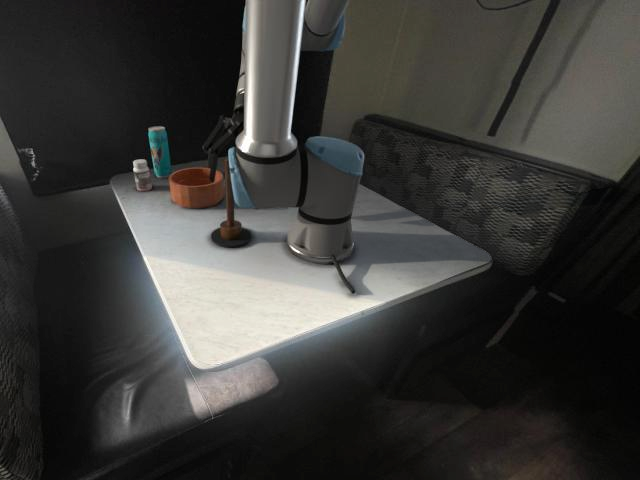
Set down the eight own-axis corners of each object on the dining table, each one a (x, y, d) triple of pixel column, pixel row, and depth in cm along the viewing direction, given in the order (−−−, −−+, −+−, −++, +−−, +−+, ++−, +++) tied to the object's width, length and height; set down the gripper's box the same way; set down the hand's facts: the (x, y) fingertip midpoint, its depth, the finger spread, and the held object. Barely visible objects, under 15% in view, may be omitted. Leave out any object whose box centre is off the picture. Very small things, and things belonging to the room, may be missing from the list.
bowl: (222, 209, 94) (221, 187, 90) (167, 209, 95) (164, 186, 91) (225, 188, 106) (224, 167, 102) (176, 188, 107) (173, 167, 102)
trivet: (251, 248, 79) (251, 246, 78) (209, 247, 79) (209, 245, 78) (251, 227, 86) (251, 225, 86) (212, 227, 86) (212, 225, 86)
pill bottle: (136, 186, 108) (130, 159, 102) (150, 184, 109) (146, 157, 103) (138, 191, 104) (132, 164, 99) (153, 189, 106) (148, 162, 100)
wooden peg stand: (241, 240, 80) (240, 162, 69) (220, 240, 80) (215, 162, 69) (241, 229, 84) (241, 155, 73) (221, 229, 84) (217, 155, 73)
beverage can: (152, 177, 113) (144, 129, 104) (160, 172, 118) (152, 125, 108) (167, 179, 112) (160, 131, 102) (174, 173, 116) (168, 126, 107)
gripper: (300, 112, 85) (288, 192, 84) (206, 108, 89) (194, 184, 88) (301, 91, 78) (288, 179, 76) (198, 88, 82) (185, 171, 80)
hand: (238, 182), depth 82 cm, fingers open, 13 cm apart
